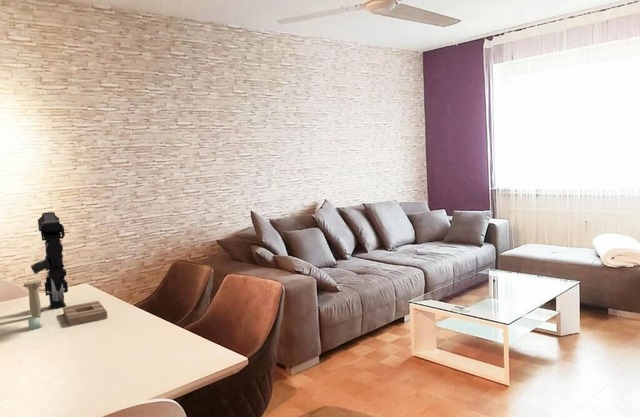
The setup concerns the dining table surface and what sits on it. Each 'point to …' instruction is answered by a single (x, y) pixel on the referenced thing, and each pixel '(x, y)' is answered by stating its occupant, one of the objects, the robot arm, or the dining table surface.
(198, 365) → the dining table surface
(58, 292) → the long pin
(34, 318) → the short pin
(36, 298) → the handle
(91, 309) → the board
